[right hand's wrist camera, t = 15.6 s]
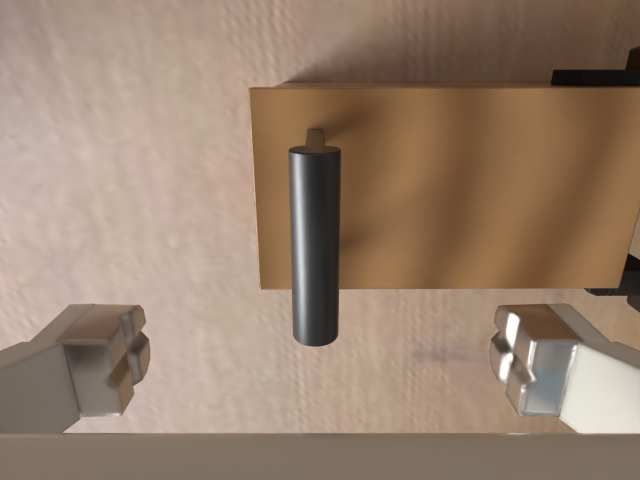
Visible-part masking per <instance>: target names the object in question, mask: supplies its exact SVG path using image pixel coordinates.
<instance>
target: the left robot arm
mask: <svg viewBox="0 0 640 480" xmlns="http://www.w3.org/2000/svg"><path fill="white" fill-rule="evenodd" d="M551 85H566V86H640V46H638V47H636V48H633V49H631V50H630V52H629V57H628V61H627V65H626V70H553V75H552V81H551ZM584 289H585V290H586V291H587V292H589V293H591V294H594V295H596V296H606V295H607V296H613V295H614V296H628V297H627V303H628V304H629V305H630V306H632V307H633V308H634V309H636V310H637V311H638V312H640V260H639V259H637V258H636V257H634V256H632V255H631V254H629V253H628V256H627V259H626V263H625V267H624V270H623V274H622V278H621V281H620V285H619V288H584Z"/></svg>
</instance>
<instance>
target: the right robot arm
mask: <svg viewBox="0 0 640 480" xmlns="http://www.w3.org/2000/svg"><path fill="white" fill-rule="evenodd" d="M145 323H146V319H145V314H144V310H143V308H142V307H141V306H140V305H114V304H73V305H69V306H68V307H67V308H66V309H65V310H64V311H63V312H62V313H60V314H59V315H58V316H57V317H56V318H55V319H54V320H53V321H52V322H51V323H50V324H48V325H47V326H46V327H45V328H44V329H43V330H42V331H41V332H40V333H39V334H37V335H36V336H35V337H34V338H33V339H32V340H31V341H30V342H21V343H18V344H16V345H13V346H11V347H8V348H6V349H4V350H1V351H0V480H640V351H639V350H636V349H634V348H632V347H629V346H627V345H624V344H622V343H619V342H610V341H609V340H608V339H607V338H606V337H605V336H604V335H603V334H601V333H600V332H599V331H598V330H597V329H596V328H595V327H594V326H593V325H592V324H591V323H589V322H588V321H587V320H586V319H585V318H584V317H583V316H582V315H581V314H580V313H579V312H577V311H576V310H575V309H574V308H573V307H572V306H571V305H568V304H530V305H502V306H498V308H497V311H496V313H495V319H494V323H495V325H496V326H497V328H498V329H499V332H498V333H497V334H496V335H495V336H494V337H493V338H492V339H491V345H490V362H491V366H492V370H493V373H494V374H495V376H496V378H497V380H498V381H500V382H501V383H503V384H505V385H506V386H507V389H506V395H507V397H508V399H509V401H510V402H511V404H512V406H513V407H514V409H515V411H516V412H517V414H518V416H542V417H560V418H559V419H560V420H562V421H563V422H564V423H566V424H567V425H568V426H570V427H571V428H572V429H574V430H575V431H576V432H578V433H62V432H64V431H65V430H66V429H68V428H69V427H70V426H72V425H73V424H74V423H76V422H77V421H78V420H80V417H98V416H122V414H123V412H124V411H125V409H126V407H127V406H128V404H129V402H130V401H131V399H132V397H133V395H134V389H133V386H134V385H135V384H137V383H139V382H140V381H142V380H143V378H144V376H145V374H146V372H147V370H148V366H149V361H150V344H149V339H148V338H147V337H146V336H145V335H144V334H143V333H142V332H141V329H142V328H143V326H144V325H145Z"/></svg>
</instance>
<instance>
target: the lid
mask: <svg viewBox="0 0 640 480" xmlns="http://www.w3.org/2000/svg"><path fill="white" fill-rule="evenodd" d="M248 91H249V109H250V127H251V145H252V163H253V181H254V199H255V217H256V235H257V253H258V271H259V288H260V289H261V290H270V289H292V311H293V336H294V338H295V339H296V340H297V341H298V342H299V343H301V344H304V345H307V346H324V345H327V344H330V343H332V342H333V341H334V340H335V339H336V338H337V336H338V316H339V289H511V288H619V285H620V281H621V278H622V274H623V270H624V267H625V263H626V259H627V256H628V252H629V248H630V244H631V241H632V237H633V233H634V230H635V226H636V222H637V219H638V215H639V211H640V87H252V88H249V90H248Z"/></svg>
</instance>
